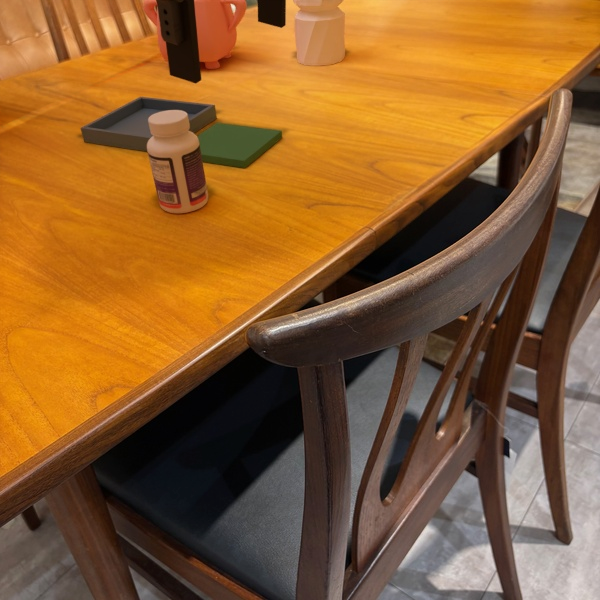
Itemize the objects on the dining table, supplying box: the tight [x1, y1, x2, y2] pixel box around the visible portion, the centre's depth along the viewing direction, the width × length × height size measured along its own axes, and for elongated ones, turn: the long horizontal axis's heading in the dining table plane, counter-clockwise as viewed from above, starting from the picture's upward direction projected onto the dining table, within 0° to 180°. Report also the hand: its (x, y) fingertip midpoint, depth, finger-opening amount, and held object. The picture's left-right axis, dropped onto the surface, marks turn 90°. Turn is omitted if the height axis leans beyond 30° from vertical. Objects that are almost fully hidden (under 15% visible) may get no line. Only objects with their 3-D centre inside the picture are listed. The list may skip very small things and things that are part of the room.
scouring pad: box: [196, 122, 283, 169], centre depth 79 cm, size 10×10×1 cm
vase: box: [292, 0, 346, 67], centre depth 106 cm, size 9×9×12 cm
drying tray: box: [80, 96, 218, 153], centre depth 85 cm, size 13×13×2 cm
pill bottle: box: [147, 110, 209, 214], centre depth 64 cm, size 5×5×10 cm
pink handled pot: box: [142, 0, 248, 70], centre depth 109 cm, size 17×16×13 cm
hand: (231, 49), depth 55 cm, fingers open, 13 cm apart
